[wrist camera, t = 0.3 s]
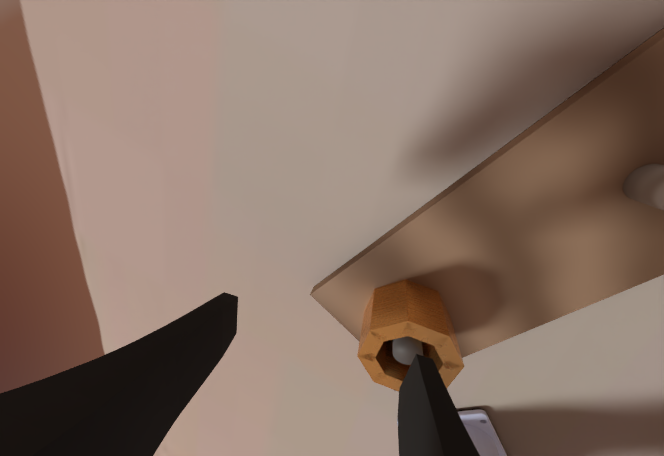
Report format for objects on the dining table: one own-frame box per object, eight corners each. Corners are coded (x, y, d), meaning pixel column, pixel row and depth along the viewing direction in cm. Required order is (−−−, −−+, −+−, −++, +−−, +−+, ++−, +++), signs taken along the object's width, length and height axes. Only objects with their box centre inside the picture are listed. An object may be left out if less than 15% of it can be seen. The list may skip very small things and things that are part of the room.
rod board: (402, 371, 23) (403, 427, 19) (313, 286, 21) (294, 328, 17) (803, 196, 13) (998, 236, 8) (693, 5, 11) (870, -57, 7)
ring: (458, 333, 19) (473, 386, 15) (386, 349, 21) (384, 398, 17) (429, 271, 17) (438, 313, 14) (354, 294, 19) (345, 336, 16)
